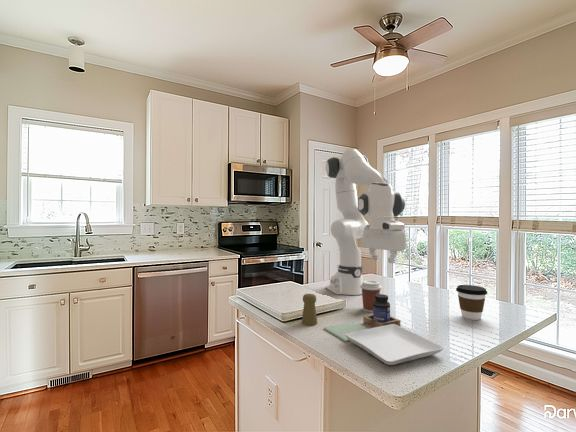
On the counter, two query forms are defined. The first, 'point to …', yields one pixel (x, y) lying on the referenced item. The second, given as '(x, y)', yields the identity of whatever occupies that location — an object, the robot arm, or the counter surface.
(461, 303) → the coffee cup
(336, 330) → the sage mat
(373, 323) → the walnut collar
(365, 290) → the coffee cup
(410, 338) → the salad plate
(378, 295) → the pill bottle
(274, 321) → the counter surface
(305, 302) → the cork
